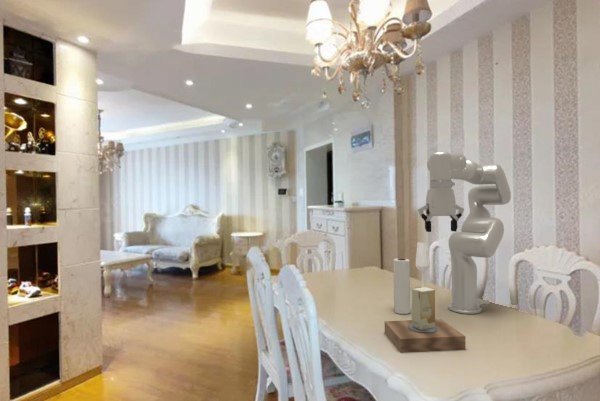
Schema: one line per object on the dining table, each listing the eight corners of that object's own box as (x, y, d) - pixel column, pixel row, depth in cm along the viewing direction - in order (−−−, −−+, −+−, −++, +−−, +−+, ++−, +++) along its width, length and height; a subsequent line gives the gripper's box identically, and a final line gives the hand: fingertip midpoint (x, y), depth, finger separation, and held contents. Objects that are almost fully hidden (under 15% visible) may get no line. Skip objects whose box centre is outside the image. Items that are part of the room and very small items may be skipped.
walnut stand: (441, 330, 127) (441, 317, 127) (465, 349, 111) (465, 334, 111) (384, 332, 126) (384, 320, 126) (400, 352, 110) (400, 337, 110)
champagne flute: (428, 294, 176) (427, 243, 176) (414, 292, 179) (413, 243, 179) (431, 291, 181) (431, 242, 181) (417, 289, 185) (417, 241, 185)
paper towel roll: (410, 315, 145) (410, 260, 145) (395, 314, 146) (394, 260, 146) (409, 309, 152) (408, 257, 152) (394, 308, 153) (393, 257, 153)
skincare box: (421, 330, 115) (420, 291, 115) (411, 326, 119) (410, 288, 119) (436, 327, 118) (435, 289, 118) (426, 323, 122) (425, 286, 122)
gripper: (458, 185, 142) (458, 230, 142) (414, 186, 141) (414, 231, 141) (468, 184, 134) (468, 231, 134) (422, 185, 133) (422, 232, 133)
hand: (441, 231), depth 138 cm, fingers open, 9 cm apart
